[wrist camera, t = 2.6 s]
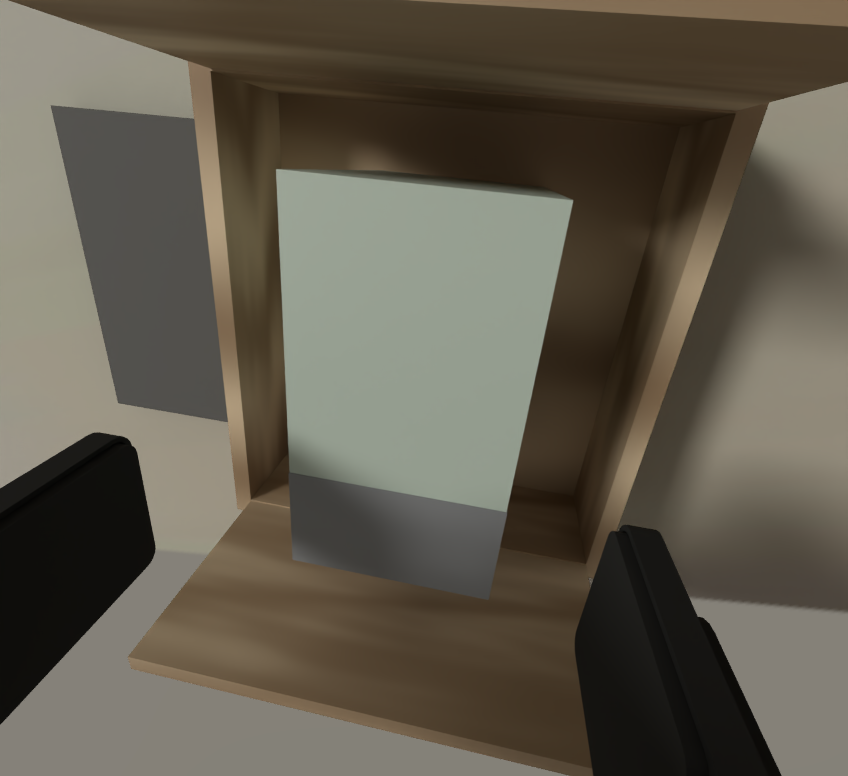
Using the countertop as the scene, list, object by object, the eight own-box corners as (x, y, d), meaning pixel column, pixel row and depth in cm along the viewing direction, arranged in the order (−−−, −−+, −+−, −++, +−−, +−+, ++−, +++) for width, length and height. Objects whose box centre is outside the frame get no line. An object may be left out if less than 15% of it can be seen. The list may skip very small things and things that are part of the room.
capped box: (381, 170, 16) (274, 168, 9) (544, 187, 15) (574, 200, 8) (370, 422, 20) (292, 560, 13) (496, 443, 20) (488, 599, 12)
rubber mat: (74, 108, 17) (50, 105, 16) (250, 125, 17) (235, 122, 16) (133, 393, 23) (118, 403, 22) (269, 416, 22) (259, 427, 21)
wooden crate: (268, 73, 16) (-133, -87, 6) (700, 108, 14) (1127, -31, 4) (286, 448, 22) (111, 665, 13) (582, 500, 21) (645, 795, 11)
